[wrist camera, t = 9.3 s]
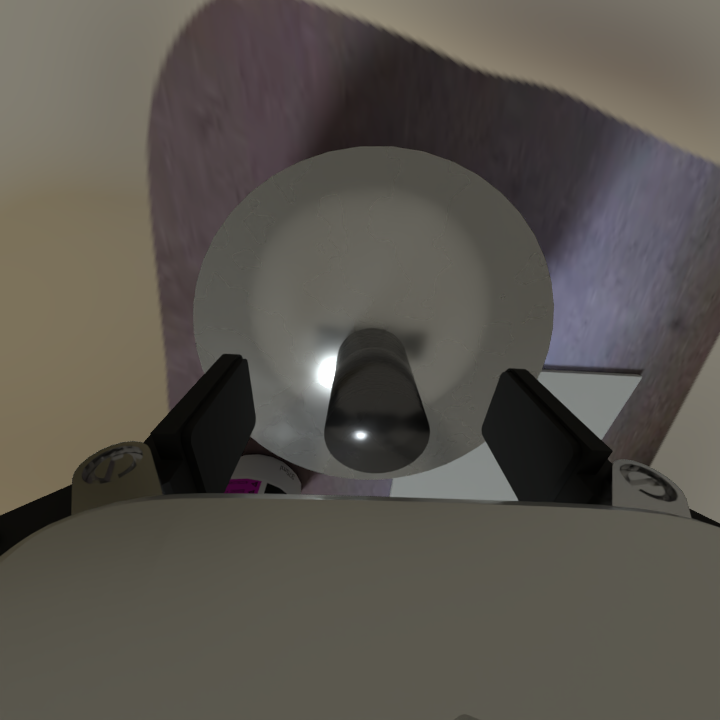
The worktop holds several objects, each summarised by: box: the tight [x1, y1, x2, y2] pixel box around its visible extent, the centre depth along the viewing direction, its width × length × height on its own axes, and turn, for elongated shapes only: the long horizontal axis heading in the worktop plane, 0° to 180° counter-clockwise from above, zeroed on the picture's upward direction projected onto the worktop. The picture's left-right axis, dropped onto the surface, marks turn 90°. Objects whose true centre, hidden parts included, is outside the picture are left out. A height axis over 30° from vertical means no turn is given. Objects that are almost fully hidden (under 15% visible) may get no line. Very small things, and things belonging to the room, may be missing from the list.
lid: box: [193, 146, 554, 479], centre depth 11 cm, size 16×16×6 cm
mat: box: [389, 369, 642, 501], centre depth 26 cm, size 18×18×1 cm
